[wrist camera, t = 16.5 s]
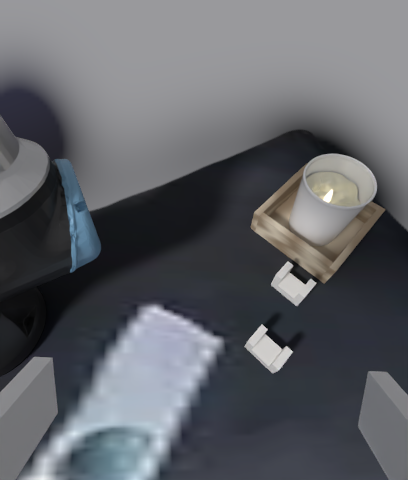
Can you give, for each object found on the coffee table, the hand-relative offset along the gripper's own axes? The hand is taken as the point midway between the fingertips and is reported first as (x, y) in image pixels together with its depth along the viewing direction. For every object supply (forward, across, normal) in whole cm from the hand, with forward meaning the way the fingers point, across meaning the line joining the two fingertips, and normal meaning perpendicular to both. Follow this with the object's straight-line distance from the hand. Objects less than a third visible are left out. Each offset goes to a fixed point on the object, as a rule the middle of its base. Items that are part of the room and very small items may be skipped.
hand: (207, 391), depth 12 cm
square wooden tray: (+40, +18, 0) cm, 44 cm away
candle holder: (+39, +18, 0) cm, 43 cm away
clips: (+29, +11, -12) cm, 33 cm away
